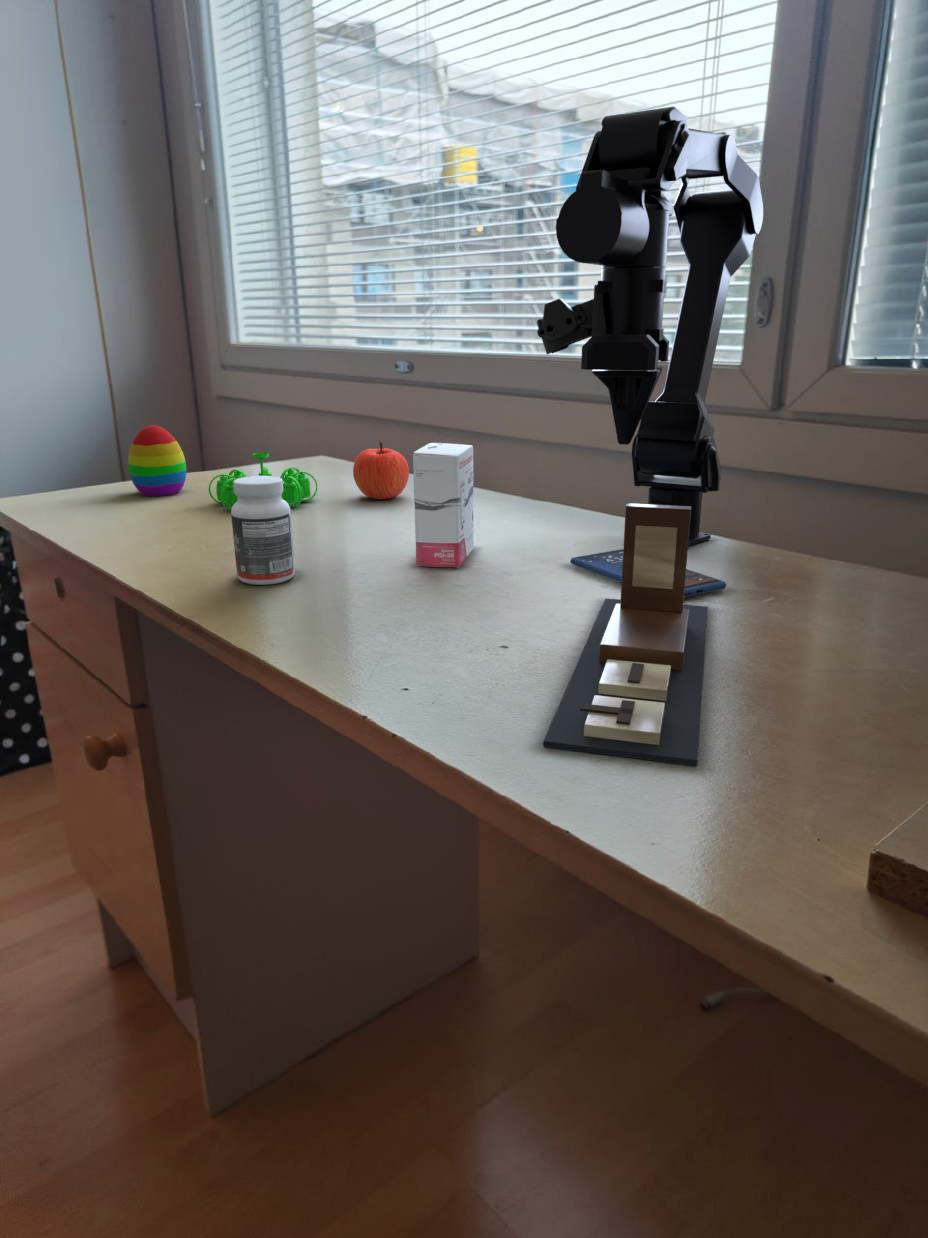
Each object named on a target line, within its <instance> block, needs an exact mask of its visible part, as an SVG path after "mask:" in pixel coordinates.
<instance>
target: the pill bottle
mask: <svg viewBox="0 0 928 1238" xmlns="http://www.w3.org/2000/svg"><path fill="white" fill-rule="evenodd" d="M283 483H284V482H283V480H282V479H281V478H280V477H279V476H273V475H272V476H259V475H251V476H247V477H243V478H239V479H236V480H234V481H233V485H234V493H235V494H236V496H237V497H238V501H237V502H236V503H235V504H234V505H233V506H231V508H232V509H230V516H231V517H230V519H231V527H232V536H233V537H232V538H233V548H234V557H235V558H234V559H235V567H236V568H235V569H236V575H237V578H238V580H239V581H241V582H242V583H245V584H247V585H256V586H268V585H275V584H280V583H284V582H287V581H289V580H290V579H292V578H293V577H294V575H295V574H296V564H295V553H294V552H295V551H294V539H293V538H294V537H293V527H292V514H291V513H292V512H291V508H290V507H289V504H288V503H287V502H286V501H285V500H283V499H282V497H281V494H282V492H283Z"/></svg>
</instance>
